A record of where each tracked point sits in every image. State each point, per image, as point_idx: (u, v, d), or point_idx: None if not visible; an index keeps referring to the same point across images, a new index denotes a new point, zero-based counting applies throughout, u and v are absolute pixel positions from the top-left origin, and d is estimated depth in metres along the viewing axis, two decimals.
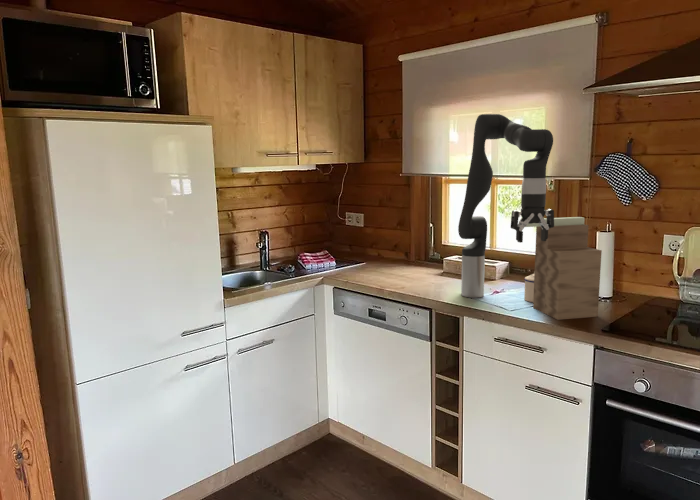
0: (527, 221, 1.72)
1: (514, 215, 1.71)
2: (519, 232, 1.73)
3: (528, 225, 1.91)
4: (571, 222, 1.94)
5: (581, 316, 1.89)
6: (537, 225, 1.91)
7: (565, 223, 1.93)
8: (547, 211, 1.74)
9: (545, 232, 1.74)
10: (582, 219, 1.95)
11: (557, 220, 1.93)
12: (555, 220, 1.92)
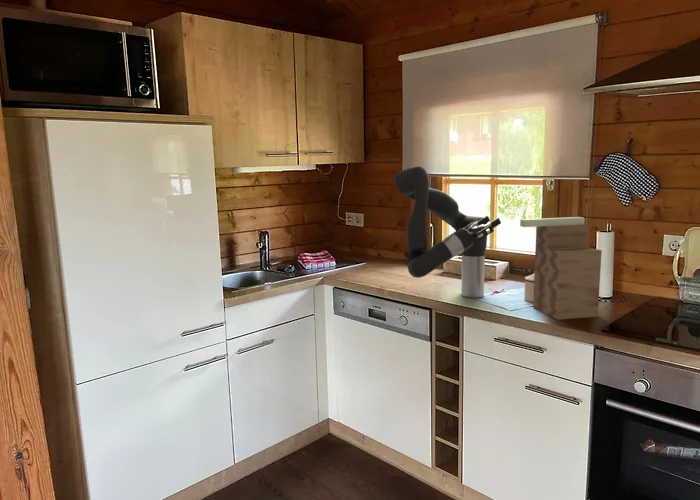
0: None
1: None
2: None
3: (528, 225, 1.91)
4: (571, 222, 1.94)
5: (581, 316, 1.89)
6: (537, 225, 1.91)
7: (565, 223, 1.93)
8: None
9: None
10: (582, 219, 1.95)
11: (557, 220, 1.93)
12: (555, 220, 1.92)
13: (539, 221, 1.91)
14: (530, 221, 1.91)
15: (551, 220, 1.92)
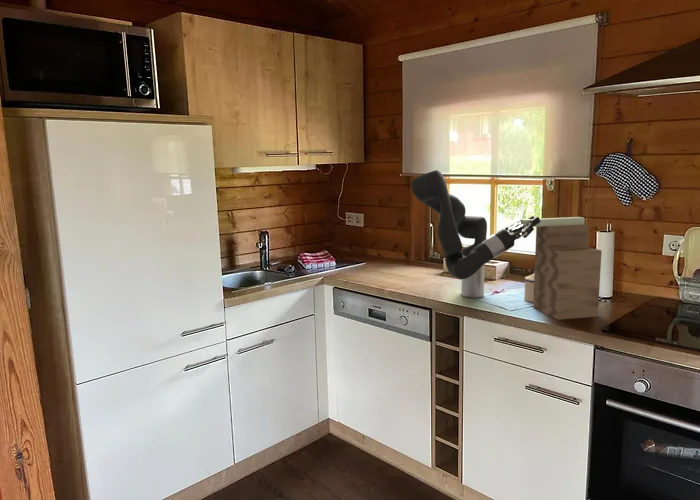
0: None
1: None
2: None
3: None
4: (571, 222, 1.94)
5: (581, 316, 1.89)
6: (537, 225, 1.91)
7: (565, 223, 1.93)
8: None
9: None
10: (582, 219, 1.95)
11: (557, 220, 1.93)
12: (555, 220, 1.92)
13: None
14: None
15: (551, 220, 1.92)
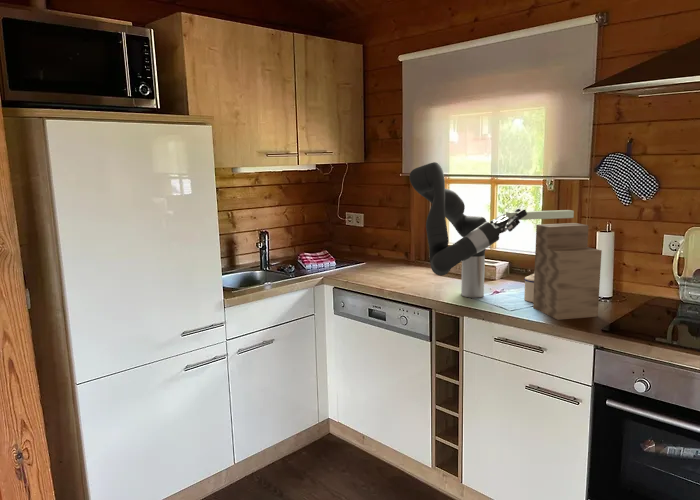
0: None
1: None
2: None
3: None
4: (559, 215, 1.84)
5: (581, 316, 1.89)
6: (523, 218, 1.81)
7: (553, 216, 1.83)
8: None
9: None
10: (571, 212, 1.84)
11: (545, 213, 1.82)
12: (542, 213, 1.82)
13: None
14: None
15: (538, 213, 1.82)
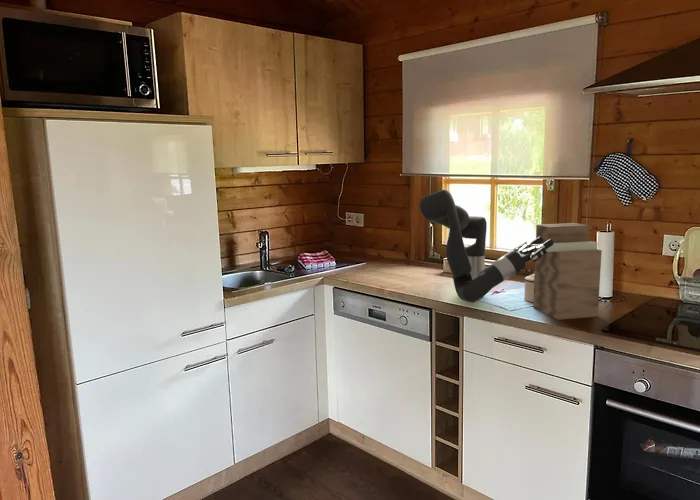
0: None
1: None
2: None
3: None
4: (583, 247, 1.87)
5: (581, 316, 1.89)
6: (548, 250, 1.85)
7: (577, 248, 1.87)
8: None
9: None
10: (595, 244, 1.88)
11: (569, 245, 1.86)
12: (567, 245, 1.86)
13: None
14: None
15: (563, 245, 1.86)
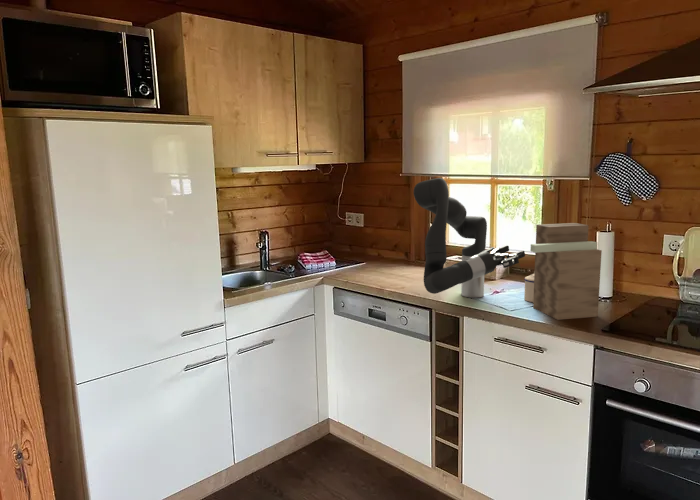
0: None
1: None
2: None
3: (539, 250, 1.84)
4: (583, 247, 1.87)
5: (581, 316, 1.89)
6: (548, 250, 1.85)
7: (577, 248, 1.87)
8: None
9: None
10: (595, 244, 1.88)
11: (569, 245, 1.86)
12: (567, 245, 1.86)
13: (550, 246, 1.85)
14: (541, 246, 1.84)
15: (563, 245, 1.86)
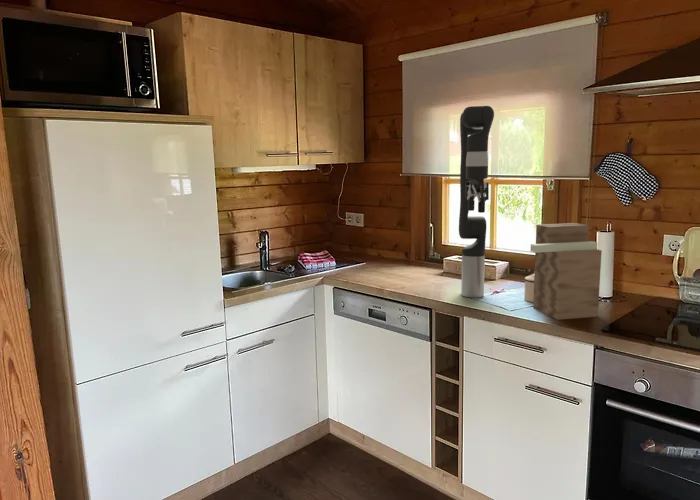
0: (468, 191, 1.89)
1: None
2: None
3: (539, 250, 1.84)
4: (583, 247, 1.87)
5: (581, 316, 1.89)
6: (548, 250, 1.85)
7: (577, 248, 1.87)
8: None
9: (478, 204, 1.83)
10: (595, 244, 1.88)
11: (569, 245, 1.86)
12: (567, 245, 1.86)
13: (550, 246, 1.85)
14: (541, 246, 1.84)
15: (563, 245, 1.86)
